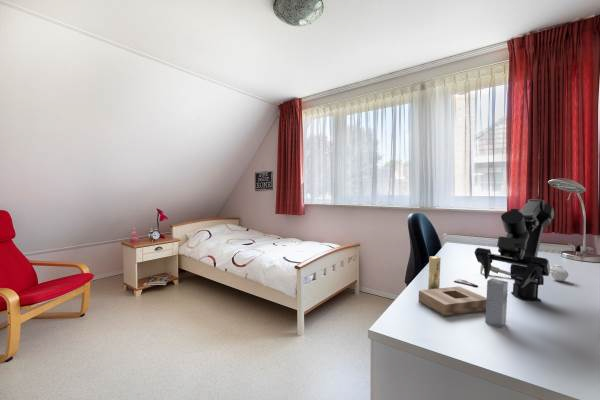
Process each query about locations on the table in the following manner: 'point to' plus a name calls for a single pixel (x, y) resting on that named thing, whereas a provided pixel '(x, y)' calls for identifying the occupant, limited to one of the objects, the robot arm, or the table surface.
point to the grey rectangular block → (496, 303)
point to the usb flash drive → (466, 282)
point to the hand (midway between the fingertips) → (502, 282)
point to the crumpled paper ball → (558, 272)
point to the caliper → (496, 270)
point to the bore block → (452, 301)
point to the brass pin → (434, 272)
